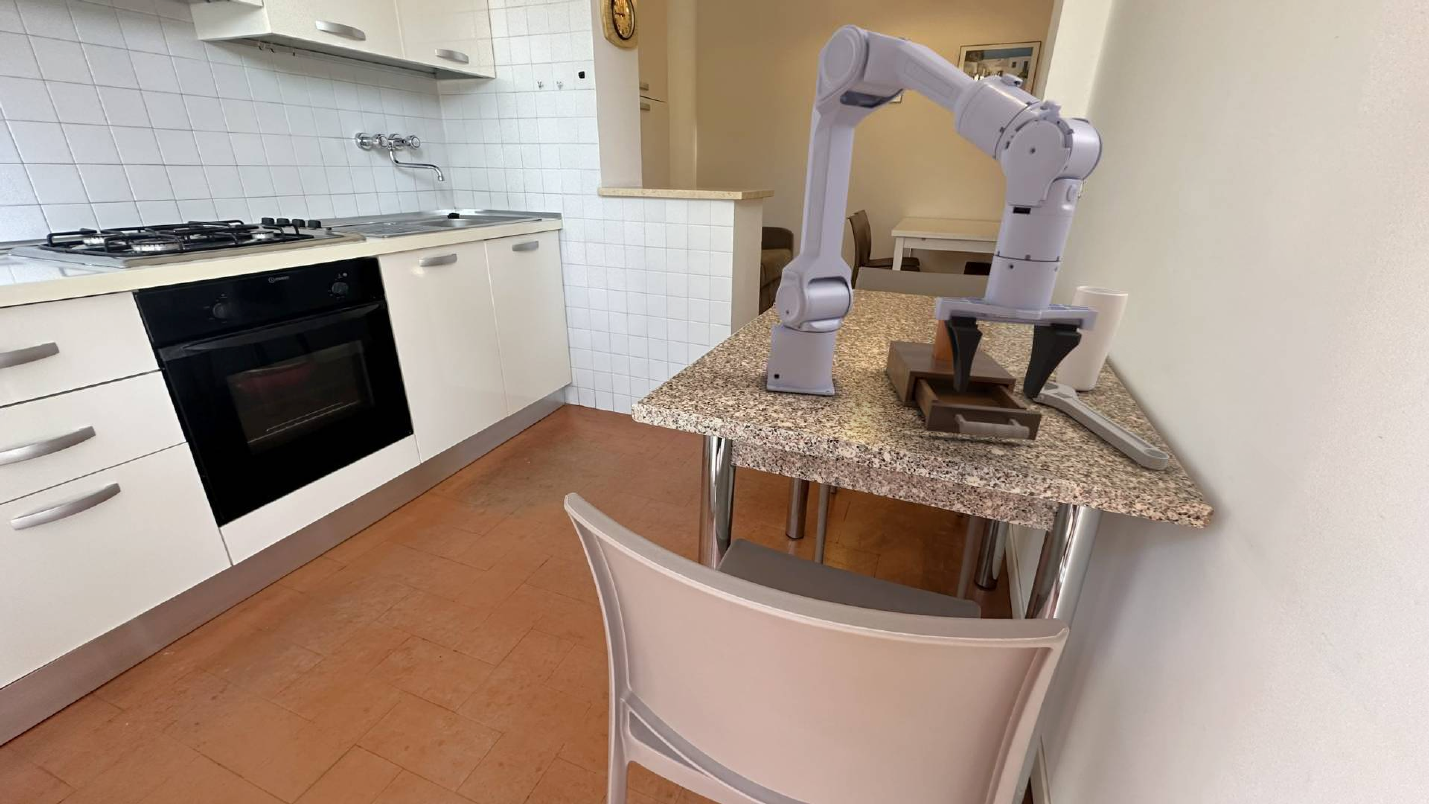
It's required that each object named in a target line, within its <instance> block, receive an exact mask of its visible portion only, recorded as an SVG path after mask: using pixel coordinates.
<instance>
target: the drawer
mask: <svg viewBox="0 0 1429 804" xmlns="http://www.w3.org/2000/svg"><path fill="white" fill-rule="evenodd" d="M953 384H954V380H951V379H938V378H926V377H915V380H914V386H913V391H912V394H913V396H914V397H915V399H916V401H917V403H918V404H919V406H920V407H919V408H920V410H921V412H922V413H923V415H924V416H925V422H924V426H923V427H924V429H925V431H927V432H937V433H945V434H947V433H948V434H959V435H968V436H969V435H970V436H982V437H992V438H993V437H994V438H1003V439H1004V438H1005V439H1013V440H1014V439H1016V440H1024V441H1025V440H1027V441H1036V440H1037V435H1038V432H1039V429H1040V425H1041V422H1042V418H1043V413H1041V412H1040V411H1039V410H1031V409H1028V407H1027V406H1026V405H1025V404H1024V403H1023V402H1022V401H1021V400H1020V399H1018V398H1017V397H1016V396H1015V395H1014V393H1013V394H1012V393H1011V392H1010V391H1009V390H1008V389H1007V388H1006V387H1005V386H1003V385H1002V384H1000V383H988V382H975V381H969V383H968V387H967V390H966V392H965V393H964V392H958V391H957V390H956V389H955V387H954V386H953Z"/></svg>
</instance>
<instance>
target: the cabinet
mask: <svg viewBox="0 0 1429 804" xmlns="http://www.w3.org/2000/svg"><path fill="white" fill-rule="evenodd" d="M933 346H934V343H931V342H919V341H918V342H917V341H905V340H903V341H902V340H890V342H889V348H888V354H887V360H886V367H885V372H886V374H887V376H888V378H889V381H890V382H891V385H892V386H893V388H894V390H895V392H896V393H897V394H896V395H898V397H899V399H900V402H901V403H902V405H903V406H904V407H910V408H920V406H919V404H918V403H917V401H916V399H915V397H914V396H913V394H912V391H913V386H914V380H915V377H926V378H938V379H951V380H954V366H953V361H946V360H941V359H938V358H935V357H933V356H932V351H933ZM1017 380H1018V379H1017V377H1015V376H1014V375H1013V374H1012V373H1010V372H1009V371H1008V370H1007V369H1006V368H1005V367H1003V366H1002V365H1001V364H1000V363H999V362H998V361H996V360H995V359H994V358H993V357H992V356H991V355H989V353H987V352H986V351H985V350H983V349H982V348H981V347H980V346H978V347H977V349H976V352H975V355H974V359H973V362H972V366H971V372H970V377H969V381H975V382H988V383H1000V384H1002V385H1003V386H1005V387H1006V388H1007V389H1008V390H1009V391H1010V392H1011V393H1012V394H1013V395H1014V391H1015V387H1016V384H1017Z"/></svg>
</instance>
